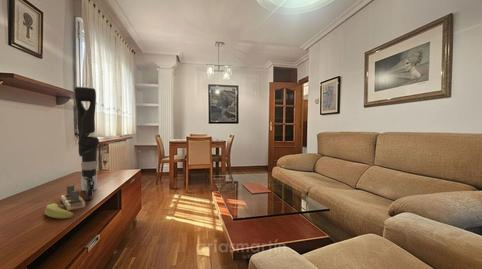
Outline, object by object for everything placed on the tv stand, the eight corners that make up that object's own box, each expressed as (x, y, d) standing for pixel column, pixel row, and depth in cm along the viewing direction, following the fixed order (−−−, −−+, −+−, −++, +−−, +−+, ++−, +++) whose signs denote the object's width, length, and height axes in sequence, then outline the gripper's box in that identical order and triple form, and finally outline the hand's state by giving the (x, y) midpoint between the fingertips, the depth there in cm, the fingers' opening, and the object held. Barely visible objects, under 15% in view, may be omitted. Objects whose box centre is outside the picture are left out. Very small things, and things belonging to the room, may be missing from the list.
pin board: (61, 200, 136) (61, 185, 136) (77, 197, 142) (77, 183, 141) (67, 210, 120) (67, 194, 120) (85, 206, 126) (84, 191, 125)
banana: (41, 207, 106) (51, 200, 123) (37, 219, 104) (48, 210, 122) (75, 210, 112) (80, 202, 129) (71, 221, 111) (77, 212, 128)
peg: (85, 199, 138) (85, 183, 137) (92, 198, 140) (91, 182, 140) (86, 200, 135) (86, 184, 135) (93, 199, 138) (93, 183, 137)
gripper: (79, 167, 139) (79, 193, 140) (84, 170, 129) (84, 199, 130) (93, 165, 144) (93, 191, 145) (99, 169, 135) (99, 196, 135)
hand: (89, 195), depth 138 cm, fingers closed on peg, 3 cm apart
